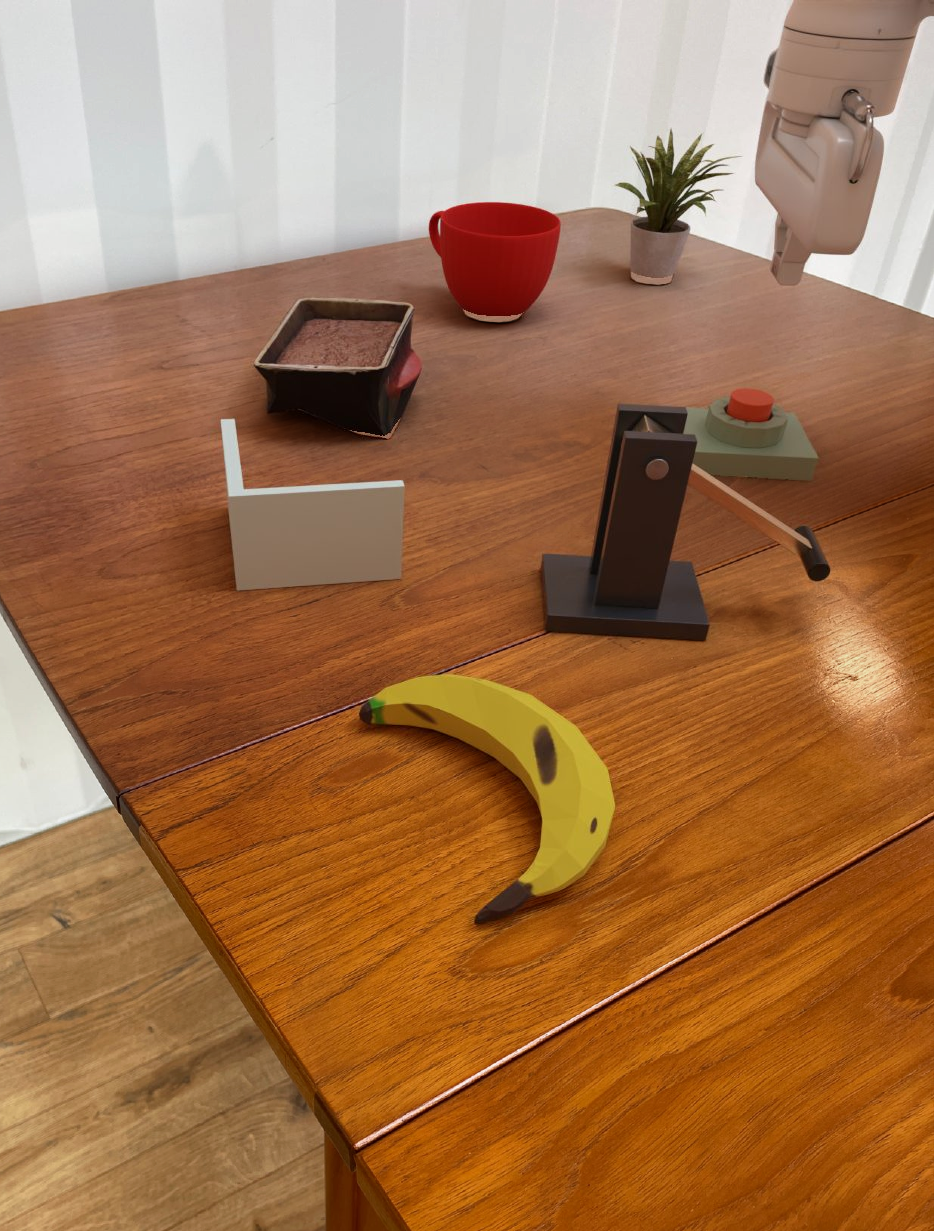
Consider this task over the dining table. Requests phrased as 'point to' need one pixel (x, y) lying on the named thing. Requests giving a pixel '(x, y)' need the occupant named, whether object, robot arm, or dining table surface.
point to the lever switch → (755, 515)
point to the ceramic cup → (495, 254)
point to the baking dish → (343, 362)
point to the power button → (750, 405)
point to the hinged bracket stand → (633, 541)
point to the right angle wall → (311, 529)
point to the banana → (517, 769)
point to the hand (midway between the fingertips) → (783, 279)
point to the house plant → (666, 207)
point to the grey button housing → (750, 444)
